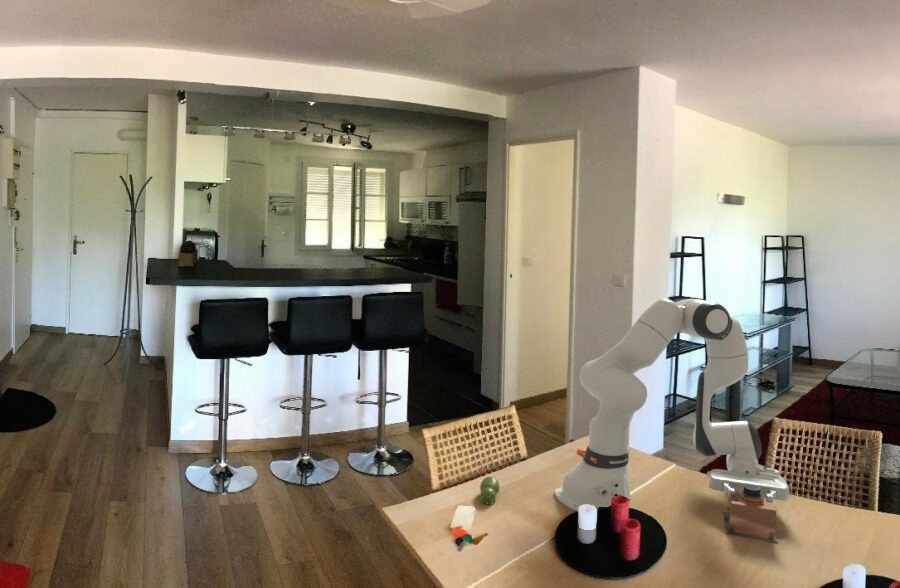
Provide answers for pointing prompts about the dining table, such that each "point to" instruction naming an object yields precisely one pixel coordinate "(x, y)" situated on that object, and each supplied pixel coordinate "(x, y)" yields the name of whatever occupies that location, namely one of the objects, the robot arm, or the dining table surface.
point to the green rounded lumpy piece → (489, 490)
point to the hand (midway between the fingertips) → (750, 496)
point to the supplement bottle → (751, 495)
